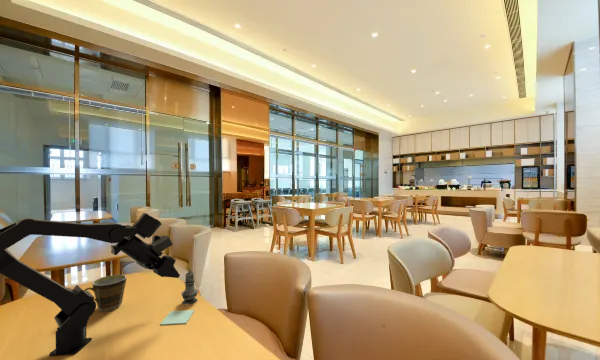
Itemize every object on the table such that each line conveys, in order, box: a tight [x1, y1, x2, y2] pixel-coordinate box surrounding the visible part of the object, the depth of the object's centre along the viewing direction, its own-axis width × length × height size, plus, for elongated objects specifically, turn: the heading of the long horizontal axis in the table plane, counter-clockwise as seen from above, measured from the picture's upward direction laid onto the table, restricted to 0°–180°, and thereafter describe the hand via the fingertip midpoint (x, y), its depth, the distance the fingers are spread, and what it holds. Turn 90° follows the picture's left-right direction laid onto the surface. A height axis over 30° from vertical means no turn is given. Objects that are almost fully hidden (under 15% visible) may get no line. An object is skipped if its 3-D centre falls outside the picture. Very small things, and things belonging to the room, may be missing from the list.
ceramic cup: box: [84, 274, 127, 312], centre depth 92 cm, size 13×10×10 cm
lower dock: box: [160, 309, 195, 326], centre depth 85 cm, size 8×8×1 cm
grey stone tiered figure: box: [180, 269, 199, 306], centre depth 97 cm, size 6×6×12 cm
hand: (172, 273), depth 92 cm, fingers open, 9 cm apart
